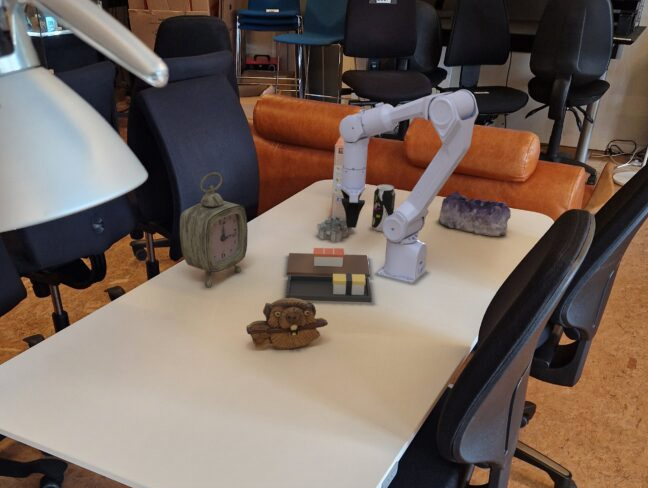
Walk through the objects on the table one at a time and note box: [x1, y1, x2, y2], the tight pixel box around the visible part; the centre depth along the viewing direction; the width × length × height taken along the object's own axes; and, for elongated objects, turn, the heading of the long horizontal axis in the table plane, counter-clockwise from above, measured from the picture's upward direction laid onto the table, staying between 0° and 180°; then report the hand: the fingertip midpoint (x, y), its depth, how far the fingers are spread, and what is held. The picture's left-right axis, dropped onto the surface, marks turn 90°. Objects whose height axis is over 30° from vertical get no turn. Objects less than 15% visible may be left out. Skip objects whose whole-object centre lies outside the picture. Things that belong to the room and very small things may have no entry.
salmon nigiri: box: [313, 247, 345, 267], centre depth 178 cm, size 7×4×3 cm, turn 87°
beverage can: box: [371, 183, 396, 233], centre depth 199 cm, size 6×6×12 cm
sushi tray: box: [285, 275, 372, 303], centre depth 168 cm, size 19×11×2 cm, turn 87°
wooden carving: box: [245, 297, 329, 349], centre depth 144 cm, size 16×5×10 cm, turn 105°
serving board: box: [286, 252, 371, 279], centre depth 179 cm, size 20×12×1 cm, turn 87°
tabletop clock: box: [179, 172, 249, 288], centre depth 167 cm, size 14×9×25 cm, turn 143°
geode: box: [437, 190, 512, 237], centre depth 201 cm, size 20×12×10 cm, turn 64°
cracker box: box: [330, 135, 346, 219], centre depth 209 cm, size 14×6×21 cm, turn 168°
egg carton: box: [316, 215, 353, 243], centre depth 198 cm, size 11×8×4 cm
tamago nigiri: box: [333, 273, 366, 295], centre depth 167 cm, size 7×4×4 cm, turn 87°
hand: (350, 221), depth 180 cm, fingers open, 7 cm apart
